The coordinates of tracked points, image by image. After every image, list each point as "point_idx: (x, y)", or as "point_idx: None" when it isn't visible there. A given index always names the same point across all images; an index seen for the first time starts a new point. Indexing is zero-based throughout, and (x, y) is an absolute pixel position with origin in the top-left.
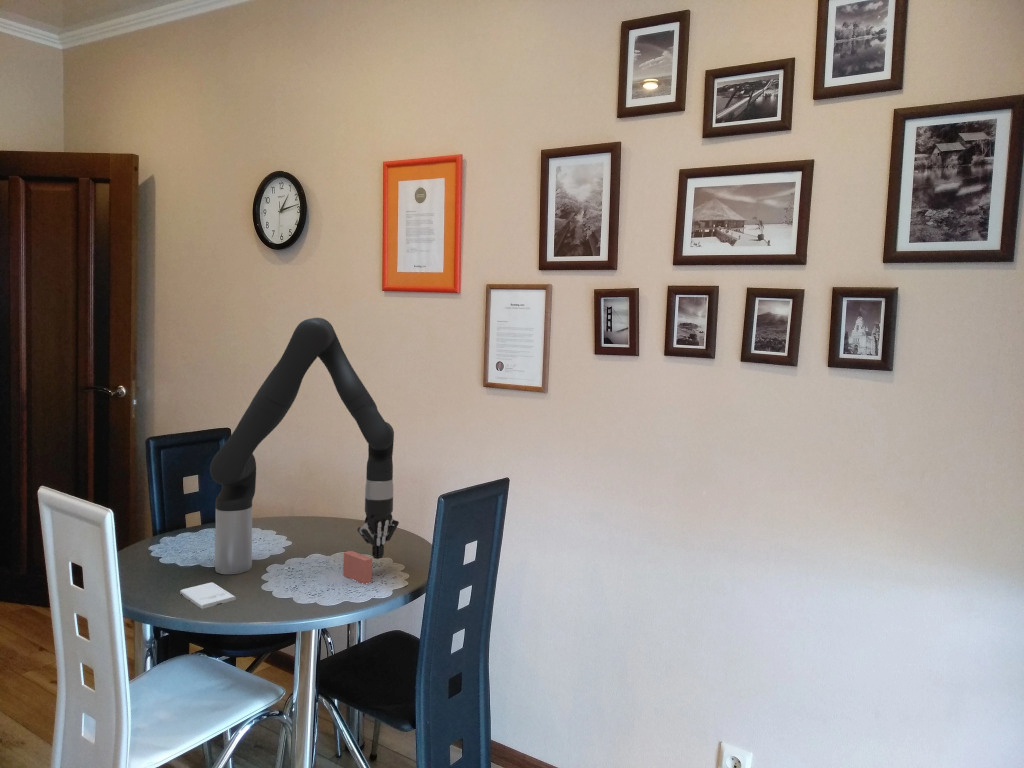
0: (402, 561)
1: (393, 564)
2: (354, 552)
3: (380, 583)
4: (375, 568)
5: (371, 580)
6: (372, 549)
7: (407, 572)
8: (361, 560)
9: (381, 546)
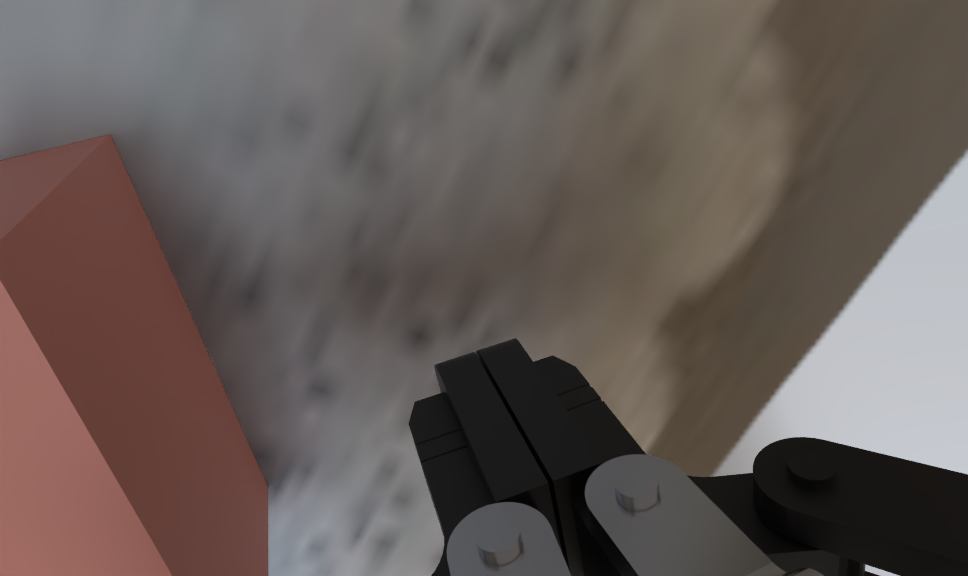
0: (847, 56)
1: (722, 96)
2: (41, 405)
3: (336, 535)
4: (490, 114)
5: (265, 500)
6: (429, 481)
7: (683, 376)
8: None
9: (580, 571)
